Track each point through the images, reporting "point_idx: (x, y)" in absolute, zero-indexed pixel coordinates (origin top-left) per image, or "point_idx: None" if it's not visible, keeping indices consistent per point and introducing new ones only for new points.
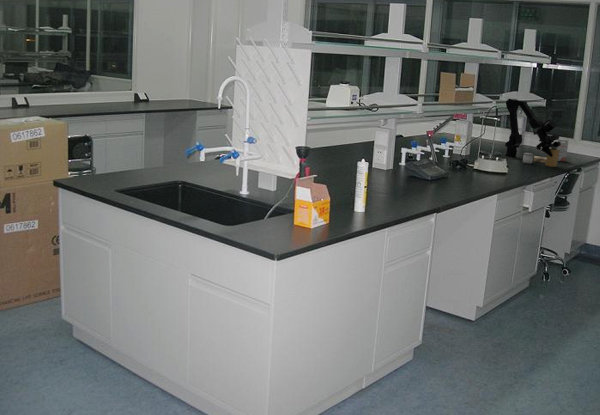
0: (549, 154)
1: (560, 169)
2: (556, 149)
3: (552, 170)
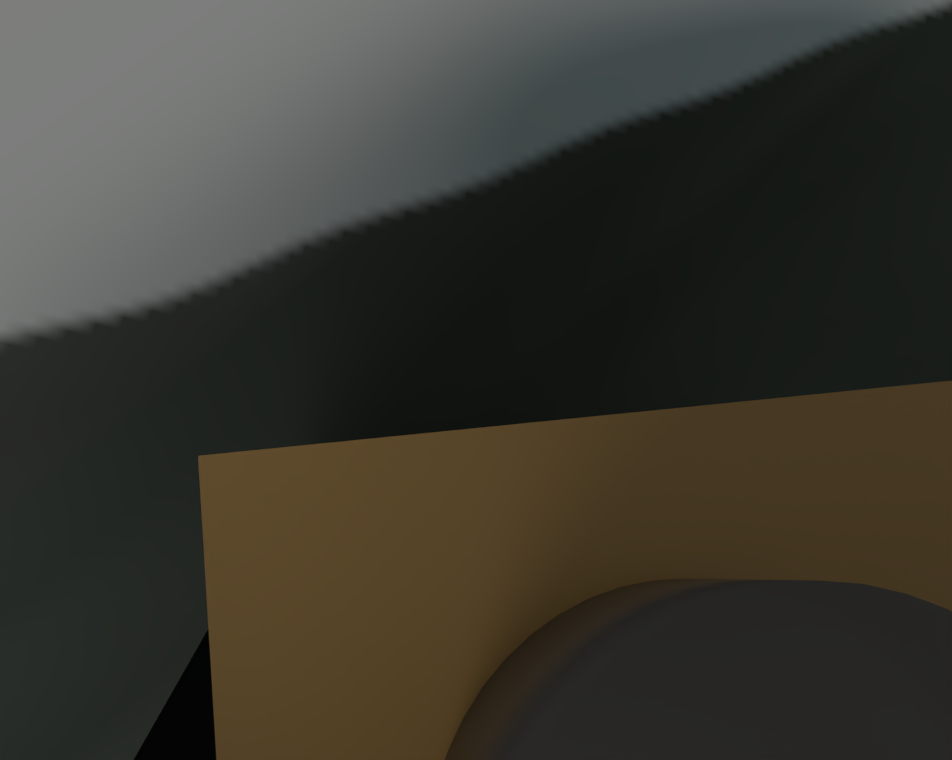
0: None
1: (533, 164)
2: (550, 627)
3: (948, 95)
